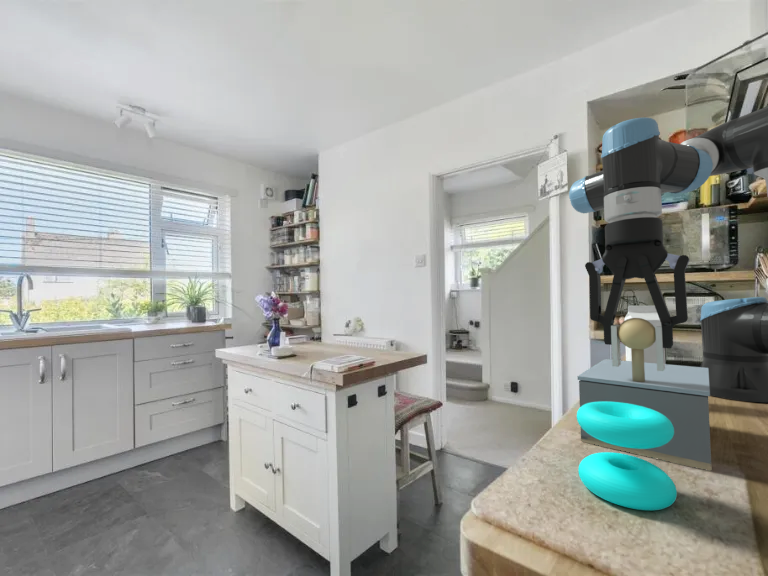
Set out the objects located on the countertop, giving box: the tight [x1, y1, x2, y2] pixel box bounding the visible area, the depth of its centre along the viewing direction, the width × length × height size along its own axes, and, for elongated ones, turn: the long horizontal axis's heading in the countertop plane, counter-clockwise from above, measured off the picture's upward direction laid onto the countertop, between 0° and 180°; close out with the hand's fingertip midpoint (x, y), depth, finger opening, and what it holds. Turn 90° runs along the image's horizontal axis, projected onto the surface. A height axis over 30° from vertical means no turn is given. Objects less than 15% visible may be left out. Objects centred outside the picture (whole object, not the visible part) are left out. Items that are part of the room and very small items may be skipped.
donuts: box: [576, 401, 678, 511], centre depth 44 cm, size 10×10×10 cm
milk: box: [623, 304, 666, 363], centre depth 83 cm, size 6×6×22 cm
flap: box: [577, 318, 711, 397], centre depth 62 cm, size 22×16×10 cm
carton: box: [578, 380, 713, 471], centre depth 62 cm, size 22×16×10 cm
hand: (638, 367), depth 56 cm, fingers closed on flap, 5 cm apart
